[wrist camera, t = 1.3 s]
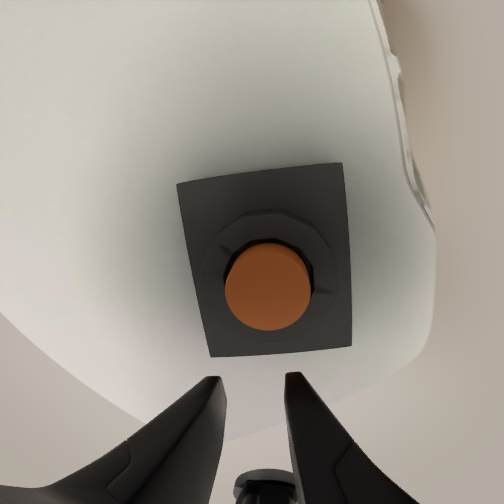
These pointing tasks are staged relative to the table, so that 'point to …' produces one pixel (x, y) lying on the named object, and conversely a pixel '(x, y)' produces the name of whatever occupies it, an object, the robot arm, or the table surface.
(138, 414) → the table surface
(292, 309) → the power button
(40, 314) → the table surface
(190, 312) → the table surface
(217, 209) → the orange push button base
